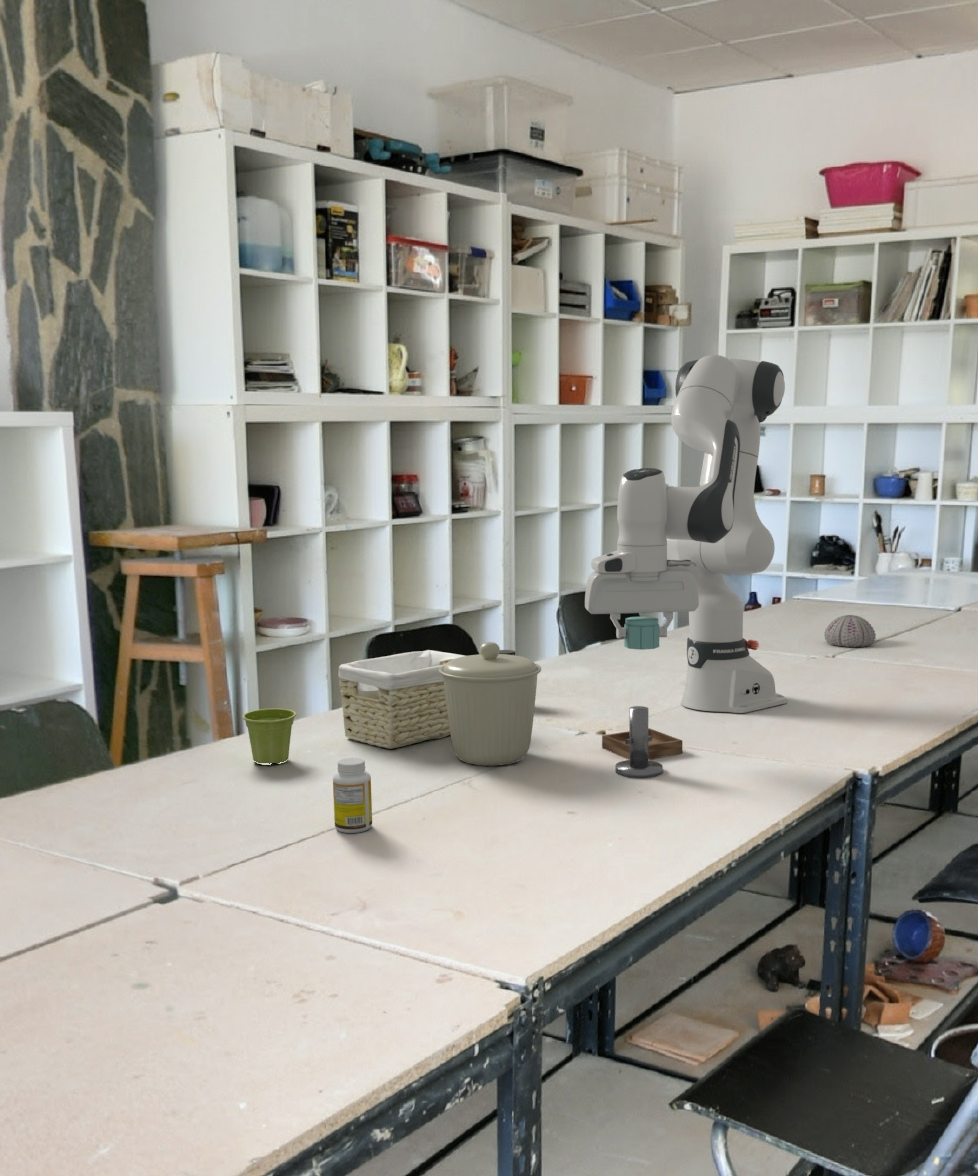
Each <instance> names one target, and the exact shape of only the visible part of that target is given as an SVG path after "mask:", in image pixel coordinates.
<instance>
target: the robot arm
mask: <svg viewBox="0 0 978 1176" xmlns="http://www.w3.org/2000/svg"><path fill="white" fill-rule="evenodd" d="M675 379H676V380H675V397H676V399H675V401H674V403H673V406H672V410H671V415H670V416H671V417H670V422H671V426H672V429H673V432H674V433H675V435H676V436H677V438H678V439H679V440H681V442H682V443H684V444H685V445H686V446H688V447H689V448H691V449H693V450H696V451H700V452H702V453H704V454H703V462H702V466H701V467H702V468H701V472H700V479H699V486H672V485H671V486H670V485H669V484H667V482H666V477H665V473H664V471H663V470H661V469H658V468H653V467H642V468H638V469H637V468H636V469H630V470H628V471H626V472H625V473H624V474H622V475H621V478H620V482H619V486H618V487H619V489H618V494H617V495H618V497H617V508H616V509H617V511H616V513H617V515H616V518H617V524H618V527H619V533H618V538H617V540H616V542H617V543H616V545H617V546H616V547H617V548H616V550H613V551H611V552H608V553H606V554H603V555H599V556H596V557H593V558H592V559H591V562H590V563H591V568H592V570H593V572H591V573H590V574H589V576H588V578H587V581H586V584H585V592H584V593H585V594H584V608H585V610H586V611H588V613H590V614H591V615H610V616H609V619H610V621H612V623H613V625H614V627H615V628H616V629H615V630H616V631H615V634H616V638H617V639H619V640H620V639H624V638H626V628H624V627H623V626H622V625H621V624H620V622H619V621H620V620H621V614H643V613H644V614H648V613H649V614H650V613H662V617H663V618H664V620H663V622H662V623H661V625H659V638H667V637H668V628H669V627H670V625H671V623H672V621H673V619H674V613H682V612H683V613H684V612H685V613H686V612H688V634H689V635H688V637H687V639H686V657H687V671H686V672H687V673H686V680H685V681H686V682H685V686H684V691H683V694H682V698H681V701H680V704H681V706H684V707H685V708H688V709H692V710H696V711H697V710H698V711H704V712H717V713H718V712H721V713H722V712H723V713H735V714H744V713H745V714H746V713H750V712H755V711H759V710H762V709H767V708H771V707H775V706H779V705H783V704H784V705H785V704H787V703H788V702H787V701H788V700H787V697H785V696H784V695H783V694H780V693H777V692H776V683H775V679H774V676H773V673H771V671H770V670H768V669H767V668H766V667H764V666H763V665H762V664H761V663H760V662H758V661H757V660H756V659H755V658H753V657H752V656H751V654H750V651H749V650H752V651H757V650H758V649H759V648H760V642H758V640H753V639H748V640H746V639H745V638H744V635H743V632H744V631H743V630H744V625H743V624H744V606H743V602H742V600H741V598H740V597H739V596H738V595H737V593H734V592H733V591H732V590H731V589H730V587H728V585H727V583H726V580H725V577H724V574H725V575H735V576H736V575H737V576H744V575H752V574H758V573H762V572H764V571H766V570H767V568H768V567H769V566H770V564H771V562H772V561H773V558H774V556H775V541H774V537H773V535H772V533H771V531H770V530H769V529H768V528H767V527H766V526H765V524H763V522H762V520H761V519H760V517H759V513H758V512H757V508H756V503H755V486H756V485H755V484H756V483H755V482H756V475H757V469H758V468H757V467H758V460H759V454H760V445H761V444H760V443H761V423H764V422H765V421H766V419H767V417H768V416H771V415H773V414H774V412H776V411H777V410H778V408H779V407H780V406H781V404H782V401H783V398H784V395H785V390H786V383H785V376H784V373H783V370H782V368H780V366H779V365H778V364H775V363H772V362H768V361H765V360H762V361H757V360H756V361H755V360H749V359H739V358H730V359H729V358H728V357H725V356H724V355H719V354H708V355H705V356H703V357H701V358H700V359H695V360H691V361H688V362H686V363H684V365H682V366H681V367H680V368H679V370H678V372H677V375H676V378H675Z"/></svg>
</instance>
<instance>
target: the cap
mask: <svg viewBox="0 0 978 1176" xmlns="http://www.w3.org/2000/svg"><path fill="white" fill-rule="evenodd" d="M623 625H624V628H626V638H623V639H624V641H623V643H624V645H623V646H624V647H625V648H626V649H631V650H655V649H657V648H658V649H659V648H660V637H659V626H660V624H659V618H657V617H654V616H630V617H625V623H624V624H623Z"/></svg>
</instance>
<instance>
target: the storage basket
mask: <svg viewBox="0 0 978 1176" xmlns="http://www.w3.org/2000/svg"><path fill="white" fill-rule="evenodd" d="M464 656H465V655H463V654H457V653H451V652H443V651H439V650H432V649H431V650H430V649H426V650H423V651H419V650H418V651H411V652H410V651H409V652H402V653H397V654H391V655H387V656H380V657H375V658H367V659H360V660H355V661H352V662H347V663H342V664H340V665H339V666H338V683H339V685H338V686H339V688H340V695H341V706H342V717H343V728H344V736H345V738H347V739H350V740H353V741H357V742H361V743H364V744H366V743H367V744H369V745H371V746H376V747H379V748H385V749H397V748H398V749H399V748H401V747H405V746H410V745H412V744H418V743H421V742H423V741H426V740H433V739H434V740H435V738H436V739H441V738H445V737H447V736H451V734H450V727H449V721H448V713H447V706H446V698H445V691H444V682H443V676H442V675H441V674H440V673H439V668H440V667H442V666H443V665H445V664H446V663H447V662H449V661H451V660H453V659H455V658H459V657H464Z"/></svg>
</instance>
